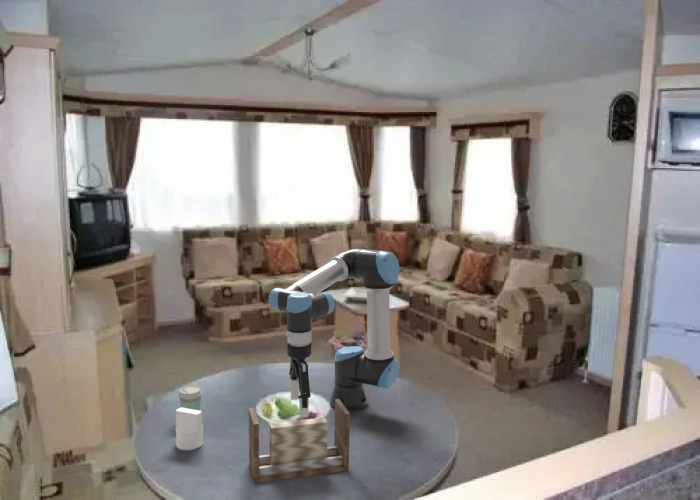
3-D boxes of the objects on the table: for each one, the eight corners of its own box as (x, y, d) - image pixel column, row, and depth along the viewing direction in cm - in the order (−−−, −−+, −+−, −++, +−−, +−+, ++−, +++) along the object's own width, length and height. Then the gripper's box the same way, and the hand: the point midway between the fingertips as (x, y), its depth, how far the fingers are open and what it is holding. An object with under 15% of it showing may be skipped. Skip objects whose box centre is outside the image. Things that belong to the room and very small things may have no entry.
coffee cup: (181, 415, 223) (180, 385, 221) (204, 415, 223) (203, 385, 222) (176, 425, 214) (176, 394, 212) (200, 424, 215) (199, 394, 213)
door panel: (324, 457, 191) (324, 417, 189) (327, 463, 187) (327, 422, 185) (269, 465, 185) (269, 423, 183) (271, 470, 182) (271, 428, 180)
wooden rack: (338, 452, 196) (339, 398, 194) (348, 470, 185) (349, 413, 182) (249, 464, 188) (248, 408, 185) (254, 483, 176) (253, 424, 174)
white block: (208, 440, 203) (207, 407, 202) (193, 452, 195) (192, 418, 193) (186, 436, 206) (185, 403, 204) (170, 447, 198) (169, 414, 196)
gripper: (280, 332, 191) (280, 393, 194) (295, 357, 168) (295, 426, 171) (302, 330, 193) (302, 391, 197) (320, 354, 170) (320, 423, 173)
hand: (299, 407), depth 184 cm, fingers open, 13 cm apart
